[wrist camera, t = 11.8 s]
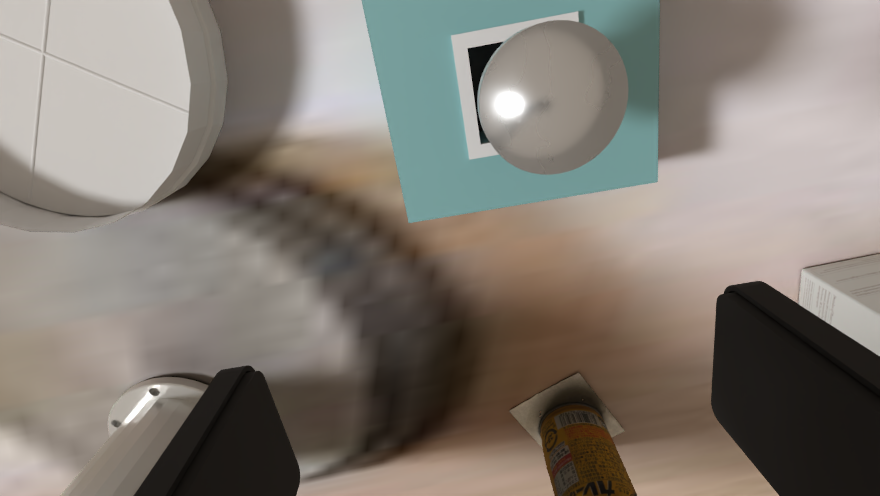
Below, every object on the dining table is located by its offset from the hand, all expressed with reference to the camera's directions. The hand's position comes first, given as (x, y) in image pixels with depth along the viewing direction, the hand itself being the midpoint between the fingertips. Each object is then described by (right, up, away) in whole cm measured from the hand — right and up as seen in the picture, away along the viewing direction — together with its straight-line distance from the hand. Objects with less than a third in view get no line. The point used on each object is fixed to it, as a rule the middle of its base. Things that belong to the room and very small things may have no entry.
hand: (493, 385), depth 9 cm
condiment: (+11, -13, +33) cm, 37 cm away
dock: (+4, +14, +21) cm, 26 cm away
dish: (-26, +16, +21) cm, 37 cm away
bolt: (+4, +14, +22) cm, 26 cm away
